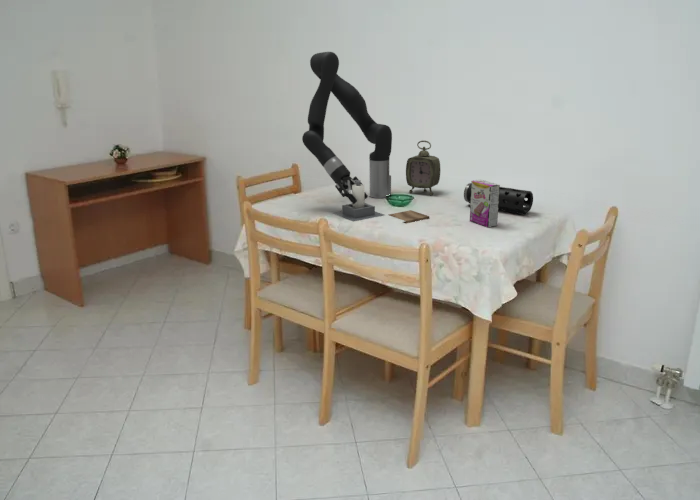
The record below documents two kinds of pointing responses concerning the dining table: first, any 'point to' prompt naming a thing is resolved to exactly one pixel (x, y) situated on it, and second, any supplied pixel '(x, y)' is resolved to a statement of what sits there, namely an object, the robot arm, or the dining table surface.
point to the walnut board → (409, 216)
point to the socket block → (358, 212)
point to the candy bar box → (484, 203)
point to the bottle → (358, 194)
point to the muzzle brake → (508, 199)
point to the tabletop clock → (423, 170)
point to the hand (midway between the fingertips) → (360, 200)
